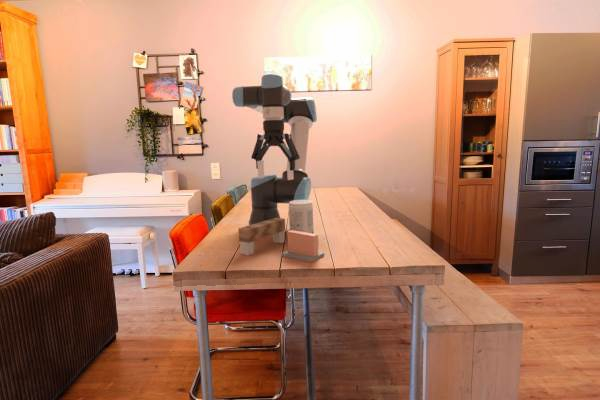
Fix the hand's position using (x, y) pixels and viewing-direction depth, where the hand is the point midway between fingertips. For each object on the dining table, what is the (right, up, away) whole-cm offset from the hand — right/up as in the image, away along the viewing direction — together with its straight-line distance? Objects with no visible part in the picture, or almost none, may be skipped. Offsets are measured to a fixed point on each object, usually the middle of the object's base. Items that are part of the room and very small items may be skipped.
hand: (275, 178), depth 132 cm
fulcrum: (+10, -27, -10) cm, 30 cm away
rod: (-4, -21, 0) cm, 21 cm away
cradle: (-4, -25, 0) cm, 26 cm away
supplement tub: (+10, -23, +12) cm, 28 cm away
